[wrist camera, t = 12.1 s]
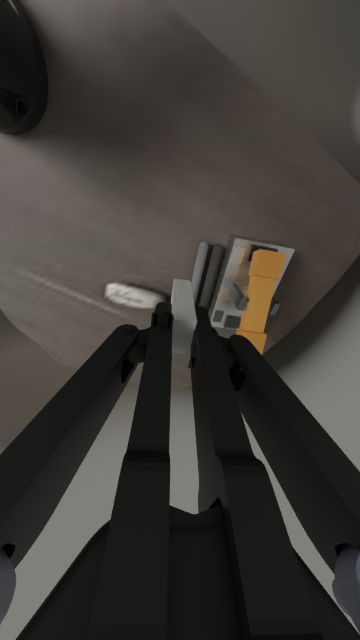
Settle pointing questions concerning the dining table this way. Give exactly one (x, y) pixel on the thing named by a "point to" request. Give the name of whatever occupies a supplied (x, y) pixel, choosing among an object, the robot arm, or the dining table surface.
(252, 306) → the lever
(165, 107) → the dining table surface
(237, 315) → the grey bracketed base
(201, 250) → the grey rod
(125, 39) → the dining table surface
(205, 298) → the cord
